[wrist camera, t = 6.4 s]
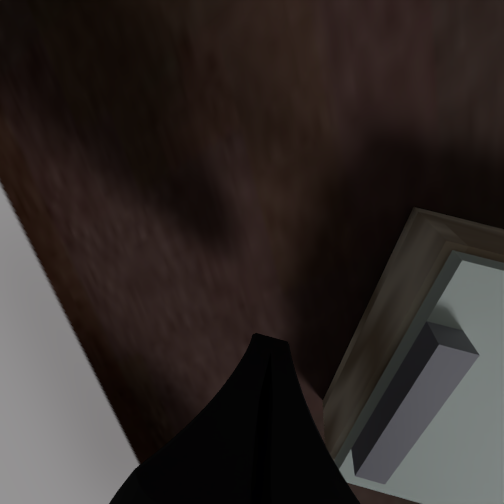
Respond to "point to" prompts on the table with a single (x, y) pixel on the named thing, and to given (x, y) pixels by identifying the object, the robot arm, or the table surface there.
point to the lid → (440, 397)
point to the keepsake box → (398, 309)
